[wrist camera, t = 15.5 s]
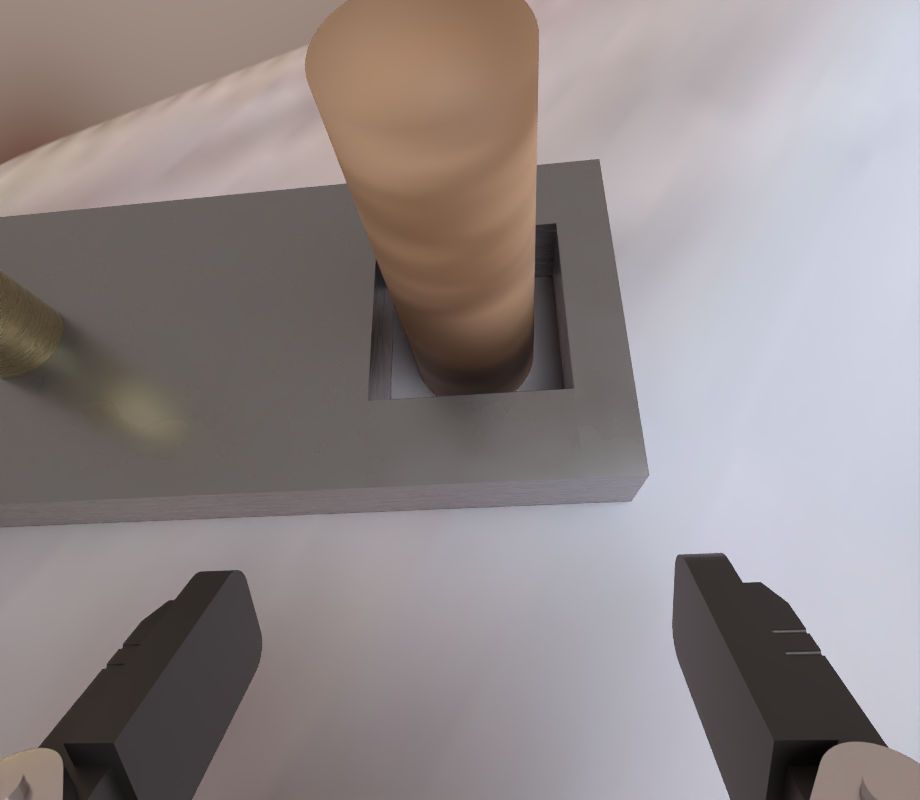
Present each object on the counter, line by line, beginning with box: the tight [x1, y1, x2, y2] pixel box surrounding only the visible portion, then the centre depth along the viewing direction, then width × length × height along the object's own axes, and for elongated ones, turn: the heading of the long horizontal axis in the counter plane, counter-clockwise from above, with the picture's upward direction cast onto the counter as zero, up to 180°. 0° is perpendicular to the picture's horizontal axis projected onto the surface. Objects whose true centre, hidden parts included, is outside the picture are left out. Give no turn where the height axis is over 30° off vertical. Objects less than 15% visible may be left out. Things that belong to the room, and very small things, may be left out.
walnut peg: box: [305, 0, 539, 397], centre depth 16 cm, size 4×4×12 cm
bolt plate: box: [0, 159, 649, 527], centre depth 16 cm, size 26×12×13 cm, turn 91°
